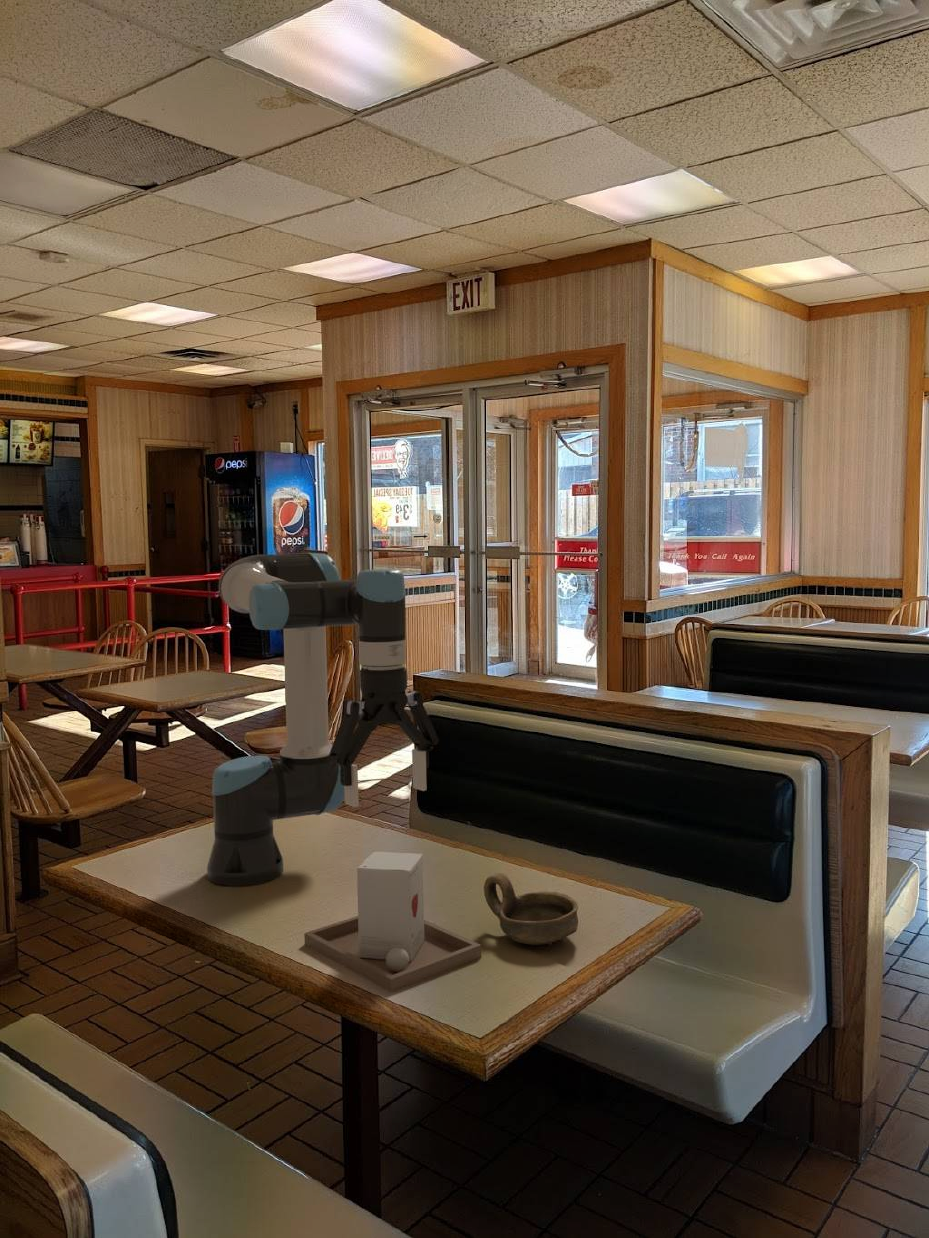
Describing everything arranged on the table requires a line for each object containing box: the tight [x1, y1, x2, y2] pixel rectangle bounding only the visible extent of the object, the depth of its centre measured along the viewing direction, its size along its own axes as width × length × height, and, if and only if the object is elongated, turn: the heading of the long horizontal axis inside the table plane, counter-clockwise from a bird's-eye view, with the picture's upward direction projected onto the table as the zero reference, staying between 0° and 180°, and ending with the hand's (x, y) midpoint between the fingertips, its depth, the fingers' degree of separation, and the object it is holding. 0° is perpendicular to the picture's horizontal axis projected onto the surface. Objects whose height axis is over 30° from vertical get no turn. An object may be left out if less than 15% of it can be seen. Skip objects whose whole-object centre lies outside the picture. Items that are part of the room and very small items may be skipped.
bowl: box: [483, 872, 579, 946], centre depth 170 cm, size 14×18×10 cm
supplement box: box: [356, 851, 425, 962], centre depth 164 cm, size 9×9×15 cm
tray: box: [303, 915, 483, 993], centre depth 165 cm, size 24×18×2 cm
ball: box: [386, 948, 409, 972], centre depth 157 cm, size 4×4×4 cm
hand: (386, 797), depth 163 cm, fingers open, 13 cm apart
